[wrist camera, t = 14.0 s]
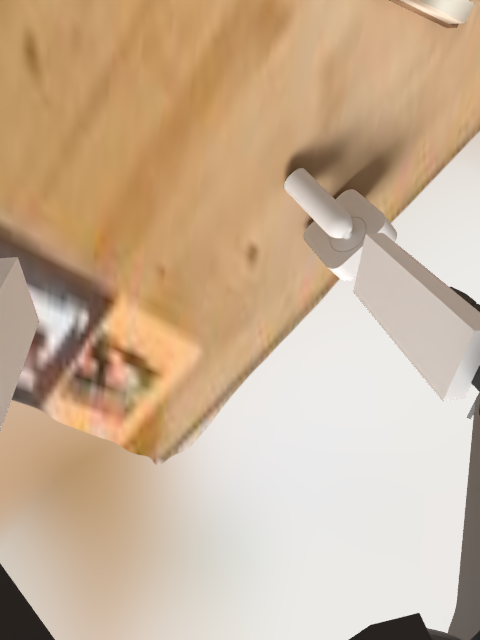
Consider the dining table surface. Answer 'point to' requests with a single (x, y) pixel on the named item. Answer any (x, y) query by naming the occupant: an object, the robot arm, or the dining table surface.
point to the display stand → (440, 10)
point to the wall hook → (337, 223)
